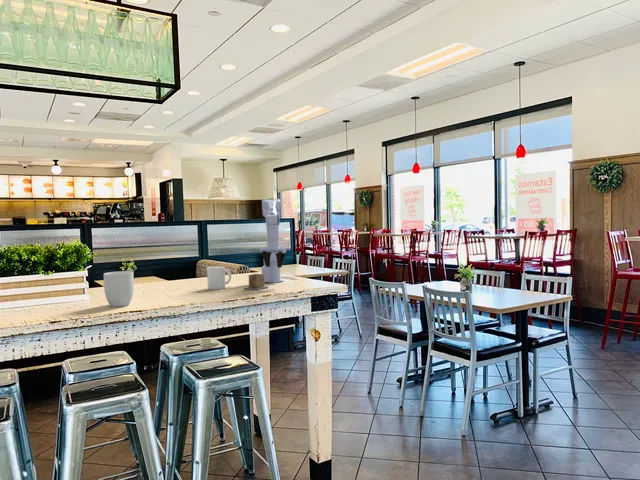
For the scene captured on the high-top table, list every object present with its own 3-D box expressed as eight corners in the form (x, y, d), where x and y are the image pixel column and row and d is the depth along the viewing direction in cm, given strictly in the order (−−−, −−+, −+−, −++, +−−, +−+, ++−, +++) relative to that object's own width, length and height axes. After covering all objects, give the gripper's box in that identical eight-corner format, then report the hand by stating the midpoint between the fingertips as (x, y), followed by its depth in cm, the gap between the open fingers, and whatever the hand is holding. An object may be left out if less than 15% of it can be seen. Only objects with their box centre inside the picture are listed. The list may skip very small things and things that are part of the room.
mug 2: (228, 285, 241) (227, 265, 240) (235, 287, 234) (234, 266, 234) (205, 288, 234) (204, 267, 233) (211, 290, 227) (211, 268, 227)
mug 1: (113, 301, 202) (111, 270, 201) (140, 300, 203) (139, 269, 202) (100, 308, 187) (99, 274, 186) (130, 307, 188) (128, 274, 187)
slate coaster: (244, 289, 229) (244, 287, 229) (255, 286, 236) (255, 285, 236) (256, 290, 225) (256, 289, 225) (268, 287, 231) (268, 286, 231)
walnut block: (249, 287, 230) (248, 274, 229) (256, 286, 234) (255, 273, 233) (256, 288, 227) (256, 275, 226) (264, 286, 231) (263, 274, 231)
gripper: (256, 239, 236) (257, 267, 237) (278, 240, 228) (279, 268, 229) (266, 238, 242) (266, 265, 243) (288, 239, 234) (289, 267, 234)
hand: (273, 267), depth 236 cm, fingers open, 7 cm apart
